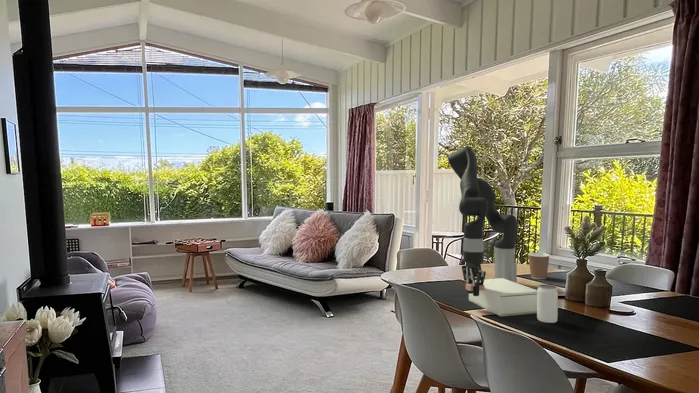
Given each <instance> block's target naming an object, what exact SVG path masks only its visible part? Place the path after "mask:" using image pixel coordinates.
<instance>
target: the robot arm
mask: <svg viewBox="0 0 699 393" xmlns="http://www.w3.org/2000/svg"><path fill="white" fill-rule="evenodd" d="M447 161H448V164H449V166H450V168H451V169H452V170H453V172H454V173H455V174H456V175H457V176H458V178H459V179H460V182H459V189H460V194H461V198H460V202H459V204H458V205H459V206H458V208H459V210H458V211H459V212H460V214H461V215H462V216H465V217H476V219H475V220H473V221H468V222H465V223H464V225H463V243H462V244H463V245H462V258H463V259H462V261H463V263H465V265H462V266H461V270H462V271H461V272H462V276H463V281H466V283H465V284H470V283H473V291H469V290H467V289H466V290H467V291H466V292H467V294H468V295H469V294H471V293H473V296H479V286H482V285H483V283H484V279H485V278H486V274H487V272H486V271H483V270H482V265H481V264H482V263H484V262H485V261H484V260H485V259H484V257H485V256H484V253H485V252H484V250H485V249H484V248H485V246H484V245H485V244H484V224H485V220H486V221H487V222H488V224H489V226H490V228H491V230H492V231H494V232H495V233H498V234H503V237H502V238H501V239H498V240H495V242H494V264H493V265H494V268H493V269H494V272H493V274H494V278H493V279H497V278H504V279H507V280H509V281H512V282H515V283H518V282H517V281H518V280H517V278H518V277H517V275H518V272H517V270H518V269H517V268H518V266H517V263H516V242H517V234H518V232H517V231H518V222H517V218H516V216H515V215H513V214H508V213H507V214H505V213H504V214H503V213H500V212H499V211H498V210H497V209H496V207H495V205H496V199H497V198H496V193H495V192H494V189H493V188H492V187H491V185H490V184H489V182H487V181H486V180H484V179H482V178H479V177H478V159H477V156H476V154H475V152H474V151H473V149H472V148H471V147H470V146H464V147H461V148H460V149H458V150H455V151H454V152H452V153H450V154H449V155H448V156H447ZM475 280H476V282H475ZM480 281H481V282H480Z"/></svg>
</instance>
